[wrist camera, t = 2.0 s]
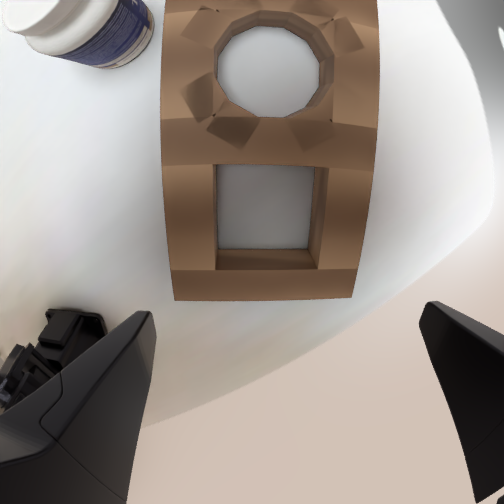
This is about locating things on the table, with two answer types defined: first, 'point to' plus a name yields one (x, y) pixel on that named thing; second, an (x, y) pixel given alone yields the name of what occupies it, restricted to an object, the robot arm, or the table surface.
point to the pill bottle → (82, 28)
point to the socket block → (268, 147)
